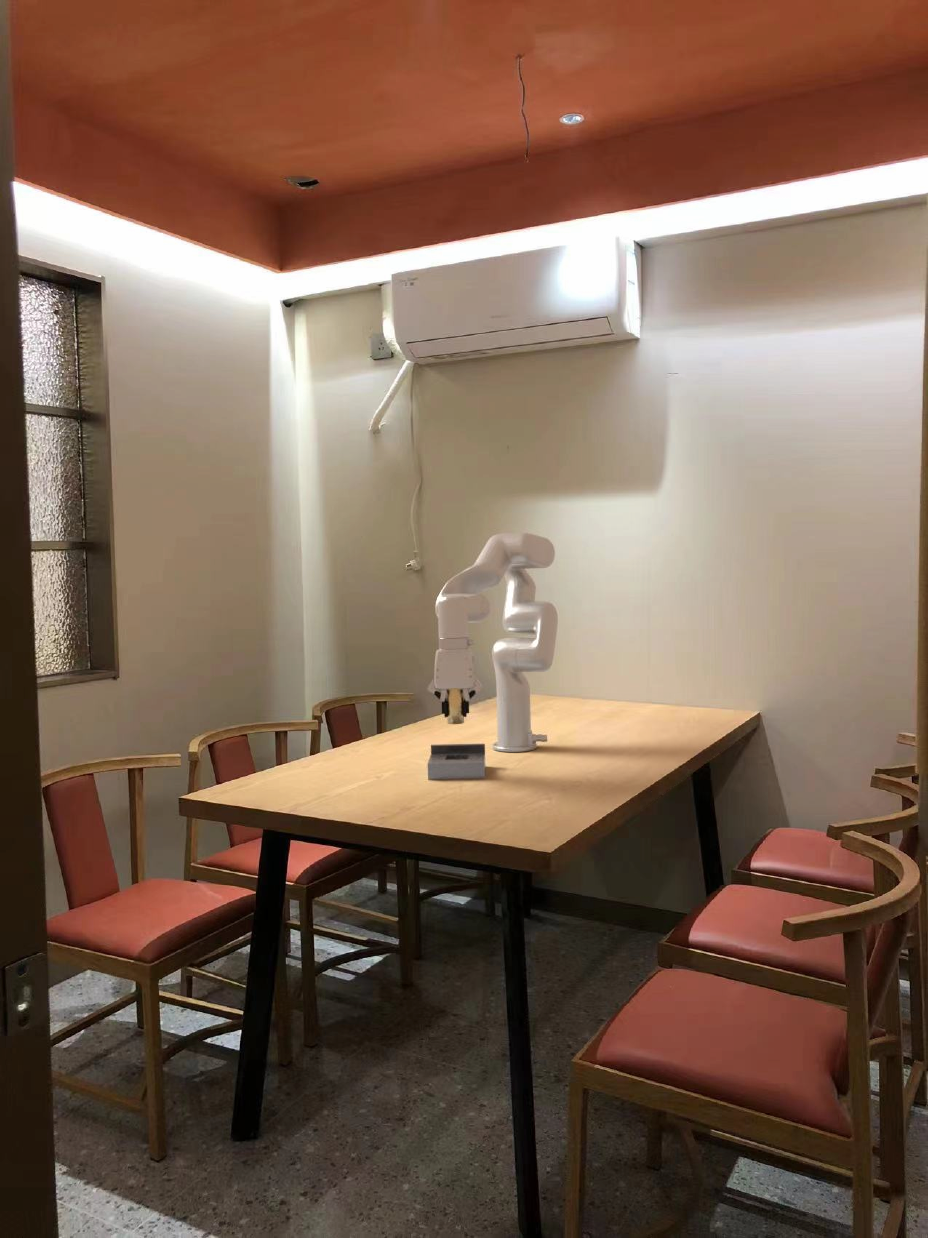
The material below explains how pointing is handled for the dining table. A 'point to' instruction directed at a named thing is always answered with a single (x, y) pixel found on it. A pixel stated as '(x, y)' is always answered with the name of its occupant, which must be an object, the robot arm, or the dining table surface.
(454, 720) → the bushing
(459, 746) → the jig
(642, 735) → the dining table surface
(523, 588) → the robot arm
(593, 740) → the dining table surface
